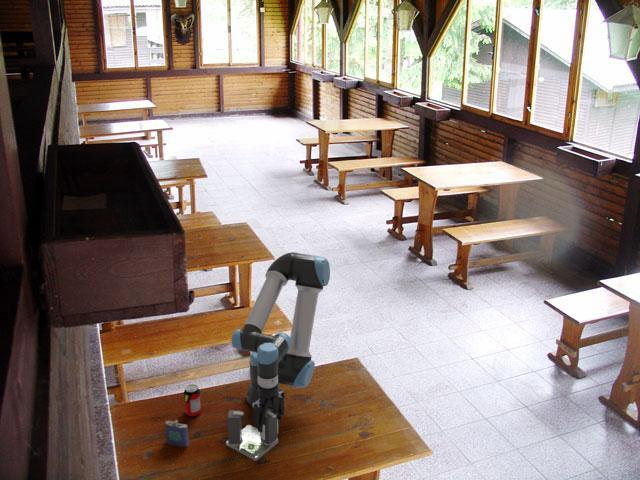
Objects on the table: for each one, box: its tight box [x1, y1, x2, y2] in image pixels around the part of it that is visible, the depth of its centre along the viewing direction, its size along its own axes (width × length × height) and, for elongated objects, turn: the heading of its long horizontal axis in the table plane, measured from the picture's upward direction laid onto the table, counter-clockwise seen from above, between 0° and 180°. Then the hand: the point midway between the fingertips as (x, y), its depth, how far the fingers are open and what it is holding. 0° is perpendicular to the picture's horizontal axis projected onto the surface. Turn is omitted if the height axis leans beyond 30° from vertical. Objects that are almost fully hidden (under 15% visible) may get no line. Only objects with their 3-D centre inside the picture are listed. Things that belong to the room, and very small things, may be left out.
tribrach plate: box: [225, 424, 279, 462], centre depth 244 cm, size 16×14×3 cm
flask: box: [164, 419, 190, 448], centre depth 242 cm, size 9×3×11 cm, turn 74°
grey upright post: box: [227, 409, 245, 444], centre depth 242 cm, size 6×4×13 cm
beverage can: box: [183, 384, 202, 417], centre depth 260 cm, size 6×6×12 cm
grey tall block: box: [261, 408, 278, 445], centre depth 242 cm, size 6×4×13 cm
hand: (269, 434), depth 244 cm, fingers closed on grey tall block, 5 cm apart
